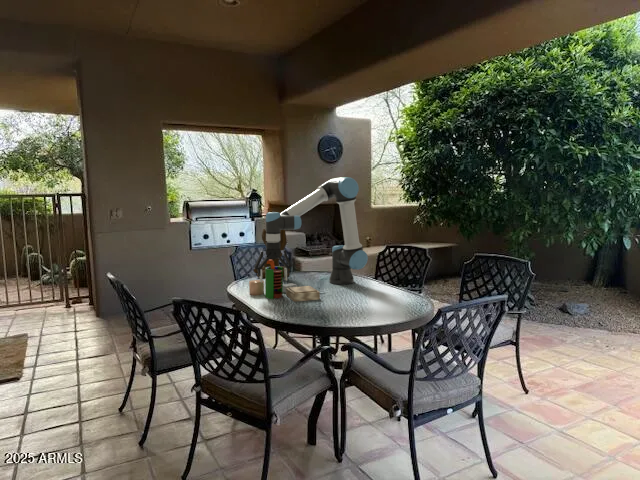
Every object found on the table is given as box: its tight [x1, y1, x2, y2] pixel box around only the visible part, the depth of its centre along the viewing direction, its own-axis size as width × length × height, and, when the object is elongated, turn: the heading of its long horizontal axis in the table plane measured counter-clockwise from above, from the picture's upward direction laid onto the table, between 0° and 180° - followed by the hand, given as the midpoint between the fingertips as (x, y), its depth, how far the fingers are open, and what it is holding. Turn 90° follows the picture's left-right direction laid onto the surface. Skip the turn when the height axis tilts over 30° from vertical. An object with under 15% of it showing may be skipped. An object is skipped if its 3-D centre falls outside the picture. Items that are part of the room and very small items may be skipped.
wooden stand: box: [253, 228, 291, 279], centre depth 293 cm, size 29×29×35 cm
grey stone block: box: [283, 282, 298, 294], centre depth 245 cm, size 8×5×4 cm, turn 130°
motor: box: [264, 260, 284, 300], centre depth 232 cm, size 10×9×20 cm
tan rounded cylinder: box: [248, 279, 265, 297], centre depth 239 cm, size 8×8×7 cm
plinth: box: [285, 285, 321, 302], centre depth 231 cm, size 14×14×5 cm
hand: (273, 281), depth 232 cm, fingers open, 13 cm apart
